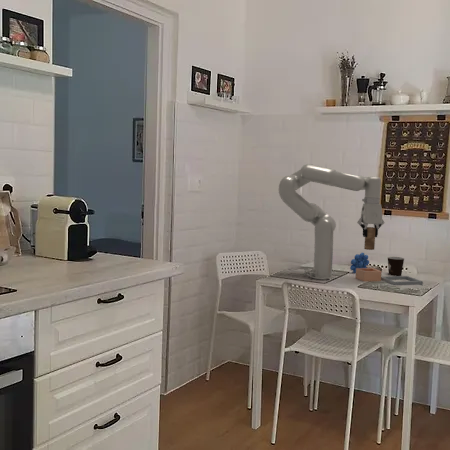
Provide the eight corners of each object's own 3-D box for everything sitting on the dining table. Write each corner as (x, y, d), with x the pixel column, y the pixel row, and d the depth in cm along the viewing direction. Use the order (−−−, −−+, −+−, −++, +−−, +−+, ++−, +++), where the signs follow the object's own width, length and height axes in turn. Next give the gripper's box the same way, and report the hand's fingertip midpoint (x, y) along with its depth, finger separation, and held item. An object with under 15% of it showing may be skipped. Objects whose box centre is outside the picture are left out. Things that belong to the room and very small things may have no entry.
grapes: (363, 272, 343) (365, 251, 342) (371, 274, 337) (372, 252, 336) (345, 273, 339) (346, 251, 338) (352, 275, 333) (353, 253, 332)
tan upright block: (367, 249, 314) (368, 228, 313) (362, 248, 319) (363, 227, 318) (376, 249, 315) (377, 228, 314) (371, 248, 320) (372, 227, 319)
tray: (393, 287, 306) (393, 282, 306) (379, 281, 319) (379, 276, 319) (422, 286, 310) (422, 281, 310) (407, 280, 323) (407, 275, 323)
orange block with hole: (363, 283, 313) (364, 271, 313) (355, 279, 322) (356, 268, 322) (380, 282, 316) (381, 271, 315) (372, 279, 325) (372, 267, 324)
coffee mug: (403, 278, 329) (404, 259, 328) (387, 277, 331) (388, 258, 330) (402, 274, 341) (403, 256, 340) (385, 273, 342) (386, 255, 341)
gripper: (360, 201, 309) (358, 238, 311) (391, 202, 313) (388, 237, 315) (353, 200, 316) (351, 236, 318) (383, 200, 320) (381, 235, 322)
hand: (370, 236), depth 316 cm, fingers closed on tan upright block, 4 cm apart
